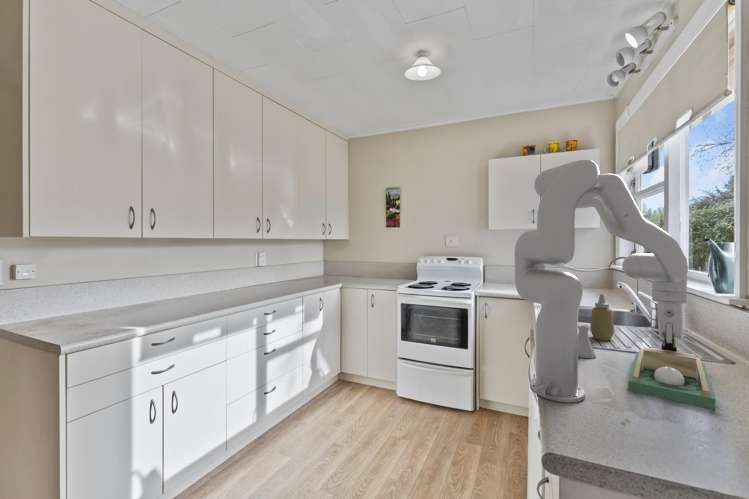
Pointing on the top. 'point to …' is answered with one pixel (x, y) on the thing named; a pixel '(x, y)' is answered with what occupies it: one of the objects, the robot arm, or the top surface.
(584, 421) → the top surface
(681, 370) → the tan wooden block
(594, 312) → the squeeze bottle
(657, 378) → the ball
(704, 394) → the putting mat
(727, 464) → the top surface
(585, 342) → the flask
